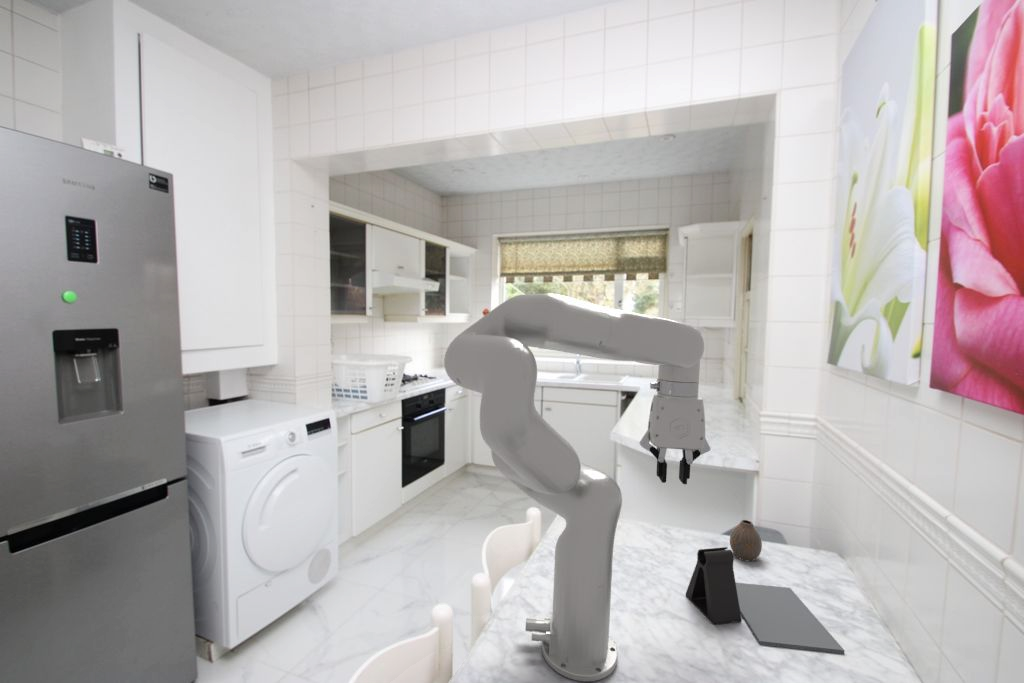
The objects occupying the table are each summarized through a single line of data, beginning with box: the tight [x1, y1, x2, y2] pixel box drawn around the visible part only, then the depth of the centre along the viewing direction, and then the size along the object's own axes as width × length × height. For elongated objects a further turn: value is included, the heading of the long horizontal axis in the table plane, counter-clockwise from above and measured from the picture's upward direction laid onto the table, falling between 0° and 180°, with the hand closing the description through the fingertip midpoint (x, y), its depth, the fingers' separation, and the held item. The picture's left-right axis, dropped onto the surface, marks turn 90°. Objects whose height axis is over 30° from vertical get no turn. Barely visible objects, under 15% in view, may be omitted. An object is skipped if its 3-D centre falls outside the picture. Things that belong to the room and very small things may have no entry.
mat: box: [735, 582, 845, 654], centre depth 85 cm, size 14×18×1 cm
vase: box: [729, 519, 763, 562], centre depth 107 cm, size 7×7×9 cm
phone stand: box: [685, 546, 742, 625], centre depth 86 cm, size 9×6×12 cm, turn 12°
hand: (672, 480), depth 86 cm, fingers open, 3 cm apart
